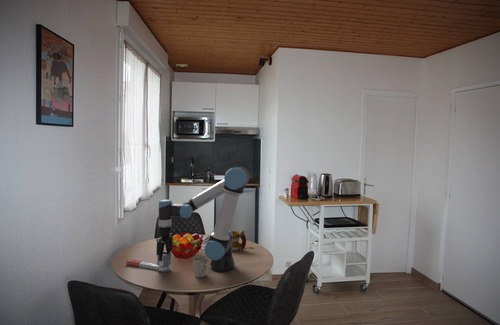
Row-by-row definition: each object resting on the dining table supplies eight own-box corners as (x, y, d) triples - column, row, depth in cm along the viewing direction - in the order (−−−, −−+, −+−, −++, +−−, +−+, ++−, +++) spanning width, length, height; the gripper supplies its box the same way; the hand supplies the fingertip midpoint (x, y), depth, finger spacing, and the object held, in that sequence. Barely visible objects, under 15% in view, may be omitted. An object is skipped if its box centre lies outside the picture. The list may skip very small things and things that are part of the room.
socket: (170, 263, 192) (171, 252, 191) (165, 266, 186) (165, 255, 186) (162, 262, 194) (163, 251, 193) (157, 265, 188) (157, 253, 188)
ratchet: (172, 269, 192) (172, 256, 192) (165, 273, 186) (166, 259, 185) (131, 262, 202) (131, 249, 202) (124, 266, 195) (124, 253, 195)
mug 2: (227, 246, 239) (228, 227, 238) (248, 249, 234) (248, 229, 233) (221, 251, 229) (222, 230, 228) (243, 254, 223) (244, 232, 223)
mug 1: (200, 271, 190) (200, 254, 190) (215, 277, 182) (215, 260, 182) (189, 275, 184) (190, 258, 183) (204, 281, 176) (204, 263, 175)
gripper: (168, 222, 199) (167, 258, 200) (149, 228, 181) (149, 268, 182) (178, 223, 197) (178, 260, 198) (161, 230, 179) (160, 270, 180)
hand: (164, 264), depth 190 cm, fingers closed on socket, 6 cm apart
